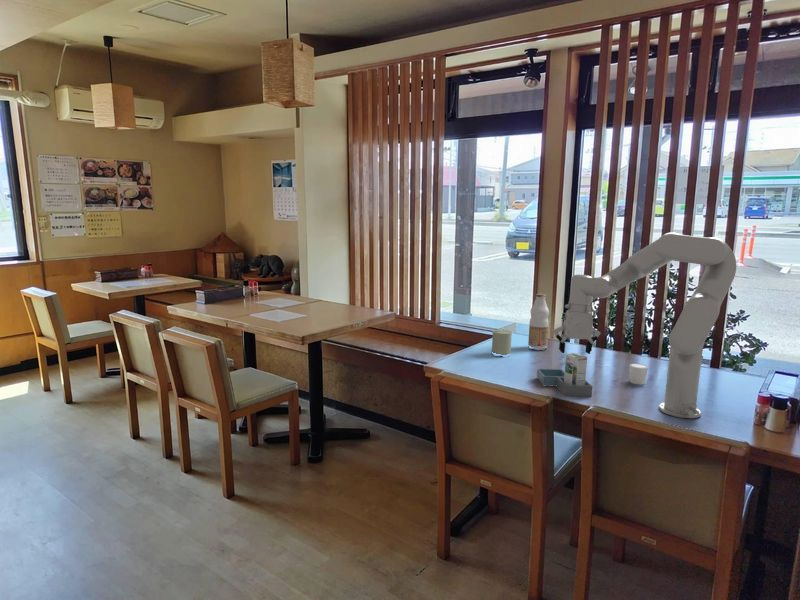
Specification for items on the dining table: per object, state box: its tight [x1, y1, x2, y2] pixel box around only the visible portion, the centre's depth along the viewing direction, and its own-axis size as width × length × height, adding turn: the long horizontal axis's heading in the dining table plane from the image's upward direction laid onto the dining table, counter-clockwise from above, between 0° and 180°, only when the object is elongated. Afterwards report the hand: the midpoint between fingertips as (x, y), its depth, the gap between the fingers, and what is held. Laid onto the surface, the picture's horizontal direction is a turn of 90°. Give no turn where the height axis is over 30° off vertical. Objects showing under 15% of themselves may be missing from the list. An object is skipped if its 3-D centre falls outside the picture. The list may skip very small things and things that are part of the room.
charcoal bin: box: [556, 377, 593, 397], centre depth 192 cm, size 10×10×4 cm
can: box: [491, 329, 513, 355], centre depth 243 cm, size 9×9×12 cm
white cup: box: [628, 363, 649, 386], centre depth 205 cm, size 7×7×7 cm
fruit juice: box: [527, 293, 550, 349], centre depth 255 cm, size 9×9×28 cm
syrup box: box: [564, 352, 588, 386], centre depth 192 cm, size 6×6×14 cm
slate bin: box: [536, 368, 565, 386], centre depth 203 cm, size 10×10×4 cm
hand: (574, 352), depth 191 cm, fingers open, 9 cm apart
